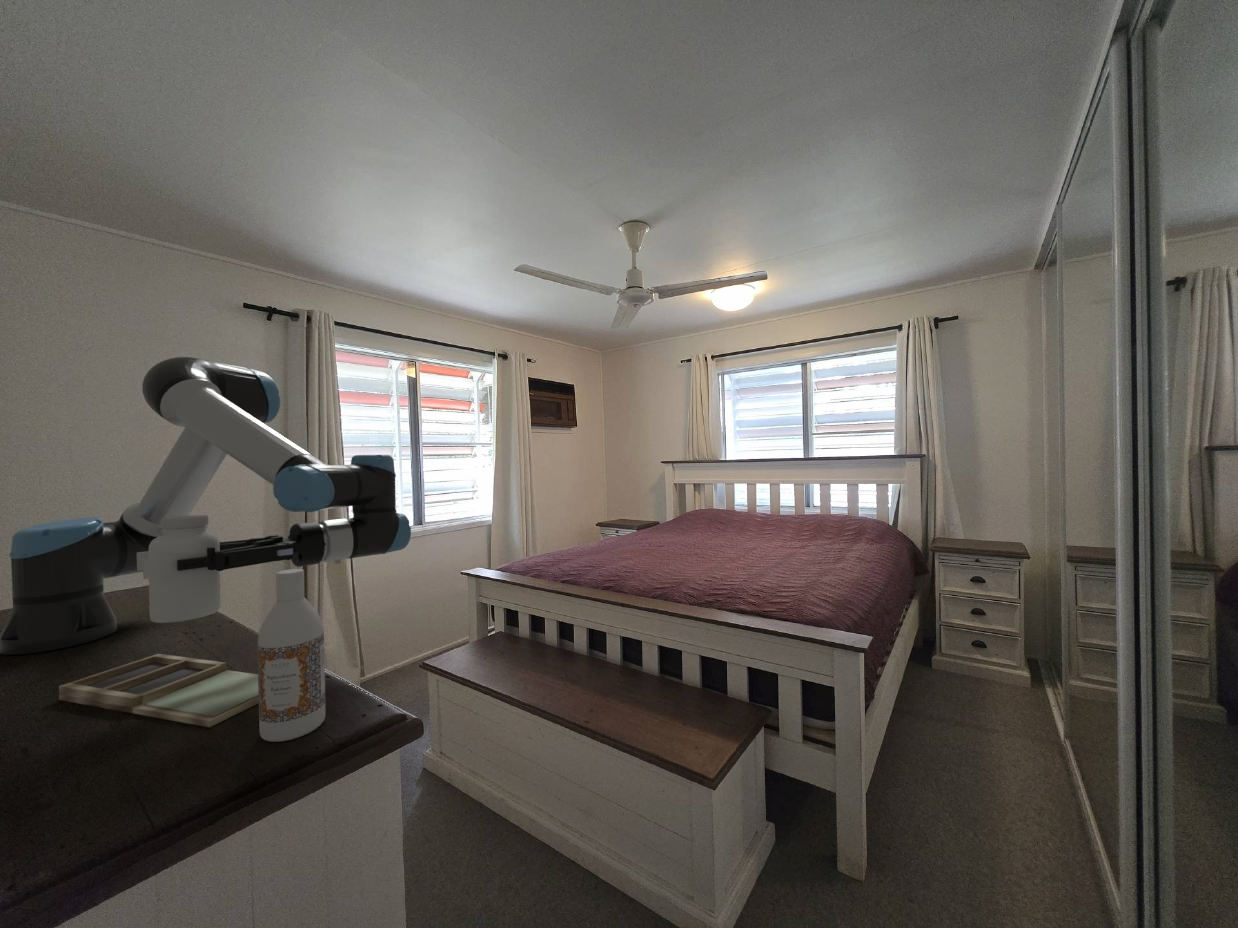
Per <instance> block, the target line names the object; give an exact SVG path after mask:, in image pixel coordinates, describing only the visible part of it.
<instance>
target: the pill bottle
mask: <svg viewBox="0 0 1238 928" xmlns="http://www.w3.org/2000/svg"><path fill="white" fill-rule="evenodd" d="M208 525H209V516H208V515H206V514H196V515H195V514H193V515H191V514H189V516H174V517H165V518H162V519H161V528H163V529H162V530H161V532H164V534H163V535H162V536H159V537H157V538H155V539H154V540H152V541H151V543H150V545H149V558H154V557H162V556H171V555H179V554H187V553H195V552H204V551H205V552H206V556H207V548H209V547H212V548H215V551H220V546H219V542H220V539H219V537H218V536H217V534H215V533H213V532H209V531H206V529H208V528H209V526H208ZM148 596H149V597H148V600H149V601H148V602H149V603H148V604H149V605H148V606H149V607H148V608H149V619H150V620H149V621H151V622H152V623H157V624H158V623H159V624H167V623H169V624H170V623H180V622H187V621H191V620H196V619H199V618H200V619H201V618H204V617H208V616H210V615H213V614H215V613H217V612H218V611H220V609H221V571H216V569H215V570H207V567H206V570H204V571H197V572H190V573H183V574H176V575H169V576H163V577H156V578H149V579H148Z"/></svg>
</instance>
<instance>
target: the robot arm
mask: <svg viewBox="0 0 1238 928" xmlns="http://www.w3.org/2000/svg"><path fill="white" fill-rule="evenodd" d="M141 385H142V386H141V387H142V389H141V390H142V395H143V397H144V400H145V402H146V403H147V405H148V406H149V407H150V408H151V410H152V411H153V412H154V413H156V414H157V415H158V416H160V417H161V418H163V419H164V420H165V421H167V422H168V423H170V424H172V425H174V426H176V427H182V428H183V430H182V432H181V434H180V435H179V437H178V438H177V440H176V442H175V443H174V444H173V446H172V449H171V450H170V452H169V453H168V455H167V457H166V458H165V460H164V462H163V463H162V465H161V467H160V468H159V470H158V472H157V473H156V475H155V477H154V479H153V480H152V482H151V483H150V485H149V486H148V489H147V490H146V491H145V492H144V493H145V494H144V495H143V496H142V498H141V500H140V502H137V503H134V504H131V505H129V506H127V507H126V508H125V509H124V511H123V512H122V514H121V515H120V517H119V519H118V520H117V521H111V522H103V520H102V518H100V517H78V518H71V519H64V520H57V521H50V522H45V523H40V524H36V525H31V526H27V527H25V528H22V529H20V530H18V531H17V532H15V533H14V534H13V535H12V537H11V538H12V539H11V548H10V553H9V557H10V563H11V565H10V567H11V568H10V569H11V588H12V589H11V591H12V608H11V609H12V610H11V612H10V614H9V616H8V618H7V620H6V622H5V625H4V627H3V629H2V632H1V634H0V655H5V656H6V655H7V656H9V655H10V656H11V655H12V656H16V655H30V654H35V653H36V654H37V653H42V652H48V651H49V652H50V651H56V650H60V649H65V648H70V647H74V646H79V645H82V644H85V643H90V642H93V641H96V640H99V639H100V640H101V639H102V638H105V637H107V636H109V635H111V634H114V633H115V632H117V630H118V622H117V621H118V620H117V617H116V615H115V613H114V611H113V609H112V608H111V606H110V604H109V602H108V601H107V597H106V596H105V593H104V579H109V578H110V579H111V578H114V577H121V576H126V575H131V574H137V573H142V576H143V580H149V578H156V577H163V576H169V575H176V574H183V573H190V572H197V571H204V570H206V567H207V570H215V569H216V571H220V572H222V571H225V570H230V569H237V568H243V567H248V566H249V567H250V566H254V565H255V566H256V565H261V564H266V563H271V562H272V563H273V562H280V561H291V562H292V564H293V565H294V566H295V567H297V568H298V567H299V568H300V567H307V566H313V565H318V564H320V563H321V562H323V563H328V562H329V563H330V562H334V564H336V565H337V564H340V563H341V562H342V560H347V559H348V560H350V559H355V558H363V557H369V556H370V557H371V556H378V555H385V554H387V553H388V554H389V553H393V552H397V551H402V550H403V549H405V548H406V547H407V546H408V544H409V543H410V541H411V535H412V528H411V525H410V521H409V519H408V517H407V515H405V514H404V513H399V512H397V507H396V504H397V503H396V478H397V477H396V476H397V475H396V471H395V461H394V457H392V455H389V454H357V455H353V456H352V457H351V459H350V464H336V465H335V464H333V465H332V464H327V463H326V462H323V461H322V460H320V459H319V458H317V457H315V456H313V455H312V454H311V453H309V451H306V450H305V449H304V448H302V447H300V446H299V445H297V444H296V443H294V442H293V441H291V440H289V439H288V438H286V437H284V436H283V435H282V434H280V433H279V432H277V431H276V430H274V429H273V428H271V427H270V426H268V425H267V424H266V423H270V422H272V421H273V420H274V419H276V417H277V416H278V414H279V411H280V408H281V396H280V391H279V387H278V385H277V384H276V382H275V380H274V379H273V378H272V377H271V376H270V375H268V374H267V373H265V372H263V371H261V370H258V369H257V370H256V369H253V368H250V367H249V366H237V365H233V364H228V363H227V364H226V363H221V362H216V361H213V360H206V359H202V358H198V357H197V358H196V357H192V356H178V357H171V358H168V359H165V360H164V359H163V360H162V361H159V362H157V363H156V364H154V366H152V367H151V368H150V369H149V370H148V371H147V373H146V374H145V376H144V378H143V380H142V384H141ZM227 455H228V456H229V457H231V458H232V459H234V460H236V461H237V462H238V463H240V464H241V465H242V466H245V468H247V469H249V470H250V471H251V472H253V473H255V474H256V475H258V476H259V477H261V478H262V479H264V480H265V481H267V482H268V483H269V484H271V485H272V490H273V491H272V492H273V496H274V498H276V499H277V502H278V505H279V506H280V507H281V508H282V509H284V510H286V511H288V512H293V513H300V512H305V513H313V512H318V511H323V510H330V509H338V508H345V507H352V515H353V516H352V517H351V518H337V519H336V518H335V519H327V520H326V519H324V520H320V521H319V522H316V521H310V522H309V521H308V522H300V523H299V522H298V523H294V524H292V526H290V529H289V533H288V534H289V535H288V536H287V538H286V537H284V536H281V535H280V536H279V535H278V534H275V535H272V534H271V535H268V536H264V537H255V538H254V537H253V538H249V539H238V540H229V541H228V540H227V541H219V546H220V551H215V548H212V547H209V548H207V556H206V552H205V551H204V552H195V553H187V554H179V555H171V556H162V557H154V558H149V545H150V543H151V541H152V540H154V539H155V538H157V537H159V536H162V535H163V534H164V532H161V530H162V529H163V528H161V519H162V518H165V517H174V516H189V515H191V513H192V511H193V509H194V508H195V506H196V505H197V504H198V501H199V500H200V498H201V497H202V495H203V493H204V492H205V490H206V489H207V487H208V485H209V484H210V482H211V480H212V479H213V477H214V476H215V475H216V473H217V471H218V470H219V468H220V466H221V464H222V463H223V462H224V460H225V459H226V457H227Z"/></svg>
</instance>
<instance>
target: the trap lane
mask: <svg viewBox="0 0 1238 928" xmlns="http://www.w3.org/2000/svg"><path fill="white" fill-rule="evenodd" d="M58 693H59V694H58V695H59V696H58V697H59V701H64V702H69V703H74V704H75V703H76V704H78V705H79V704H80V705H85V706H90V707H96V708H101V709H107V710H112V711H119V712H124V713H130V714H135V715H140V716H145V717H150V718H151V717H152V718H157V719H163V720H168V721H172V722H173V721H174V722H177V723H179V722H180V723H183V724H189V725H194V726H200V727H205V728H212V727H213V726H215V725H218V724H220V723H221V722H223V721H225V720H228V719H229V718H231V717H234V716H235V715H237V714H239V713H241V712H243V711H246V710H248V709H250V708H251V707H254V706H256V705H259V692H258V673H251V672H243V671H242V672H241V671H235V670H229V669H228V670H227V662H225V661H217V660H207V659H201V658H200V659H199V658H195V657H194V658H193V657H185V656H178V655H170V654H165V653H164V654H163V653H157V654H156V653H155V654H154V655H150V656H146V657H144V658H141V659H138V660H135V661H131V662H129V663H125V664H122V665H120V666H116V667H114V668H113V667H112V668H111V669H107V670H104V671H102V672H98V673H96V674H92V675H89V676H86V677H83V678H80V679H77V680H74V681H71V682H70V681H69V682H67V683H65V684H60V685H58Z"/></svg>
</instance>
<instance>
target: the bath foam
mask: <svg viewBox="0 0 1238 928" xmlns="http://www.w3.org/2000/svg"><path fill="white" fill-rule="evenodd" d="M275 583H276V584H275V585H276V586H275V587H276V590H275V591H276V602H275V603H274V605H273V606H272V608H271V610H269V612H268V613H267V615H266V617H265V618H264V620H263V622H262V624H261V626H260V628H259V629H260V630H259V632H258V638H257V644H256V645H257V647H256V648H257V674H258V692H259V703H258V720H259V724H258V725H259V736H260V738H262V740H264V741H267V742H271V743H275V742H276V743H279V742H287V741H292V740H295V739H298V738H300V737H303V736H306V735H307V734H310V733H312V732H313V731H315V730H316V729H318V727H320V726H321V725H322V724H323V723H324V721H325V718H326V675H325V674H326V673H325V672H326V671H325V670H326V669H325V667H326V666H325V664H326V663H325V632H324V625H323V622H322V618H321V617H320V613H319V612H318V611H317V610H316V609H315V607H314V606H313V604H311V603H310V601H308V599H306V597H305V570H304V569H302V568H291V569H284V570H280V571H277V572H276V575H275Z"/></svg>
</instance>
